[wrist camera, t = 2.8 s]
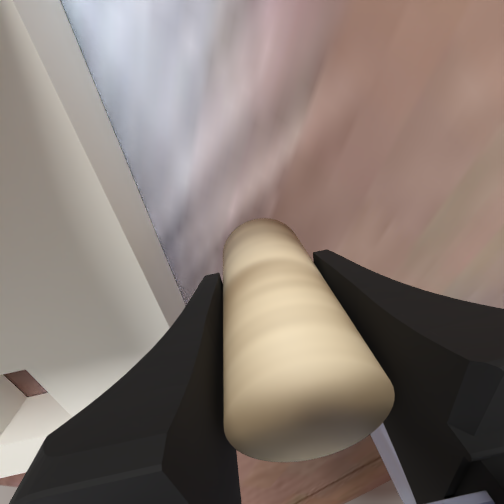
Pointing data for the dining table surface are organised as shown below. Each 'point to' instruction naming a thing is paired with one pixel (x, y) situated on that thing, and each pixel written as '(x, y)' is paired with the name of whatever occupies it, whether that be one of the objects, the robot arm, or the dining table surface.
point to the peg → (292, 354)
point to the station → (66, 237)
